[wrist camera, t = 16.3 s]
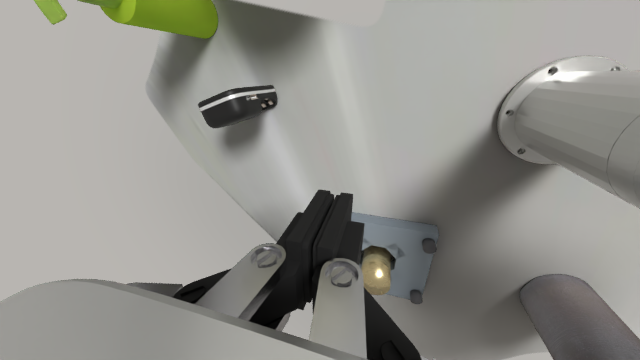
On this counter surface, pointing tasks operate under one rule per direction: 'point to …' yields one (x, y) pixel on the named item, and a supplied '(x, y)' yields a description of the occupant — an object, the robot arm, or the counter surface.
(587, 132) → the robot arm
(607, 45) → the counter surface
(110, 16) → the soap dispenser
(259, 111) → the battery charger
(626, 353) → the pillar candle
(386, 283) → the brass cylinder
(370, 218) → the plate
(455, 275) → the counter surface
